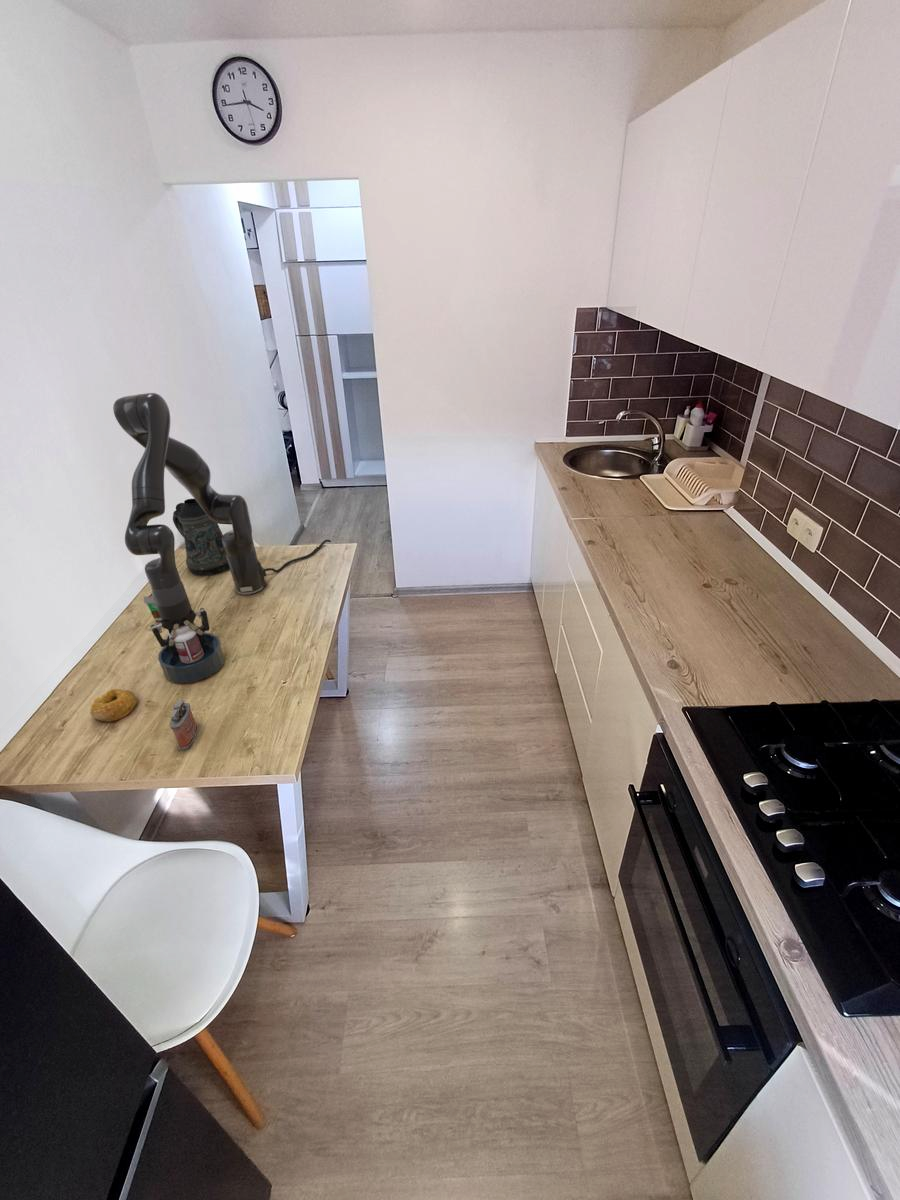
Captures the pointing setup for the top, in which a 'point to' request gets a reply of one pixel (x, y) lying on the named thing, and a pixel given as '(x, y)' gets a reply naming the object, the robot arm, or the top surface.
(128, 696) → the bagel
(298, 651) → the top surface
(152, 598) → the food container
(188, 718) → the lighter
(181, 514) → the beer stein
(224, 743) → the top surface
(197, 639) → the pill bottle
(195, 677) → the bowl
